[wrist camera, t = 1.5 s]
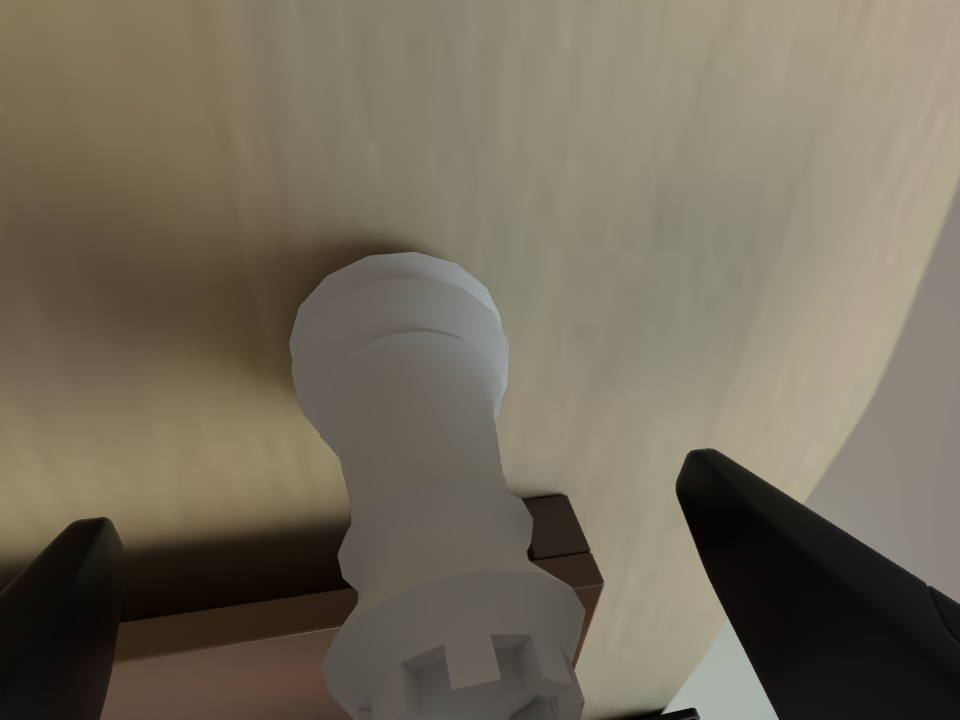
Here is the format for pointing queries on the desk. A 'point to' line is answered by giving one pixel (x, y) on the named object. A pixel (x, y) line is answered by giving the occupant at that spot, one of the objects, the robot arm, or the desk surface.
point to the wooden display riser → (289, 643)
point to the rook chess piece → (429, 502)
